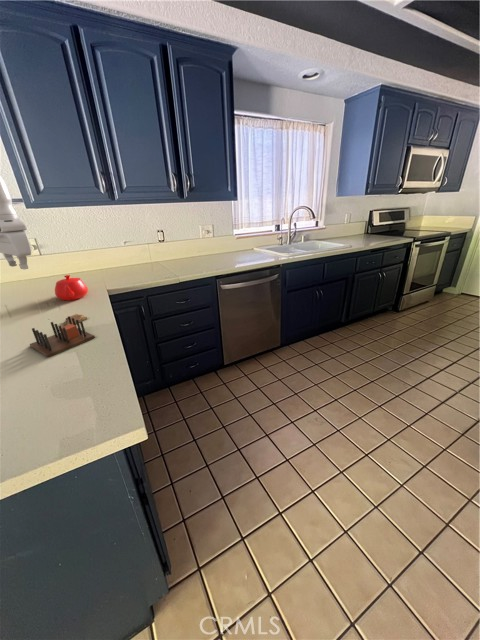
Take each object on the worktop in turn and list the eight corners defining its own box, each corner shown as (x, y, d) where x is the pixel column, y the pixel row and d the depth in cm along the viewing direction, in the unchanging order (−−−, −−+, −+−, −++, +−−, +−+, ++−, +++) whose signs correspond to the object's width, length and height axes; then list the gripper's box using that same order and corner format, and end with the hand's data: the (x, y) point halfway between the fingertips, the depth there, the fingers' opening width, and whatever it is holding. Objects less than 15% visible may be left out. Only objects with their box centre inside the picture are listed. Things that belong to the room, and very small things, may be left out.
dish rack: (48, 357, 88) (41, 338, 85) (30, 346, 95) (23, 329, 92) (94, 337, 100) (89, 321, 97) (75, 329, 107) (70, 313, 104)
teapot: (59, 293, 151) (52, 272, 146) (89, 289, 157) (84, 269, 152) (53, 307, 131) (45, 283, 126) (88, 302, 137) (82, 279, 132)
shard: (66, 329, 107) (64, 325, 106) (52, 327, 110) (51, 323, 109) (88, 319, 116) (87, 315, 116) (75, 317, 119) (73, 313, 118)
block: (68, 339, 97) (65, 329, 95) (63, 337, 99) (59, 327, 97) (79, 335, 100) (76, 325, 98) (74, 332, 102) (71, 323, 100)
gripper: (-21, 224, 87) (-4, 266, 93) (2, 226, 77) (20, 273, 82) (2, 223, 92) (17, 262, 98) (27, 224, 81) (42, 268, 87)
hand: (19, 267), depth 90 cm, fingers open, 8 cm apart
